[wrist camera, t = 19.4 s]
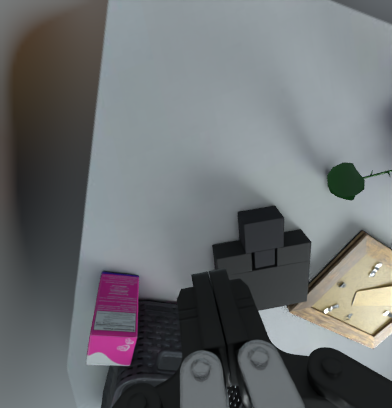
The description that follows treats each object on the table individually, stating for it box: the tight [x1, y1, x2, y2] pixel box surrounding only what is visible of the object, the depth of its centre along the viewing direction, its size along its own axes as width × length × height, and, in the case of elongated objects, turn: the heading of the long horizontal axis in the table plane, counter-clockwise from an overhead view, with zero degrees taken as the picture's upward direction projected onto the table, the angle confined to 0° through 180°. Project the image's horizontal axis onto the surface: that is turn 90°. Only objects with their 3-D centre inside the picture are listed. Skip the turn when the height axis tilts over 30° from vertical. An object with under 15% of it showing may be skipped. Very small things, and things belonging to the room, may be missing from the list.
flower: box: [327, 163, 392, 200], centre depth 38 cm, size 15×15×14 cm
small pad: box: [238, 206, 284, 268], centre depth 44 cm, size 6×8×4 cm
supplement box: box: [86, 271, 139, 366], centre depth 42 cm, size 6×6×12 cm
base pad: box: [213, 229, 311, 311], centre depth 47 cm, size 14×12×4 cm
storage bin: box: [101, 301, 243, 408], centre depth 50 cm, size 29×19×13 cm
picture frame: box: [287, 231, 392, 349], centre depth 54 cm, size 19×2×24 cm
